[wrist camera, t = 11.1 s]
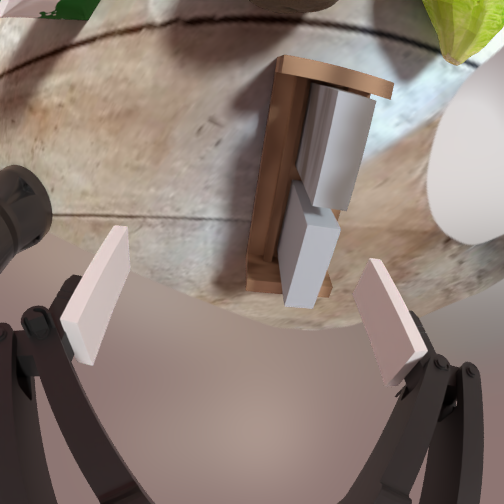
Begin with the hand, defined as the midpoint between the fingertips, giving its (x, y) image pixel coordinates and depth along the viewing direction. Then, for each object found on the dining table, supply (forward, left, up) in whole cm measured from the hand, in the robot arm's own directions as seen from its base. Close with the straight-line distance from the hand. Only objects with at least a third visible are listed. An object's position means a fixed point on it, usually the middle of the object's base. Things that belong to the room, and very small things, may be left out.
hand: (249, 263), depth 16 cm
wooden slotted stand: (+8, -4, -27) cm, 28 cm away
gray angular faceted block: (+8, -10, -25) cm, 28 cm away
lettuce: (+23, +27, -27) cm, 45 cm away
